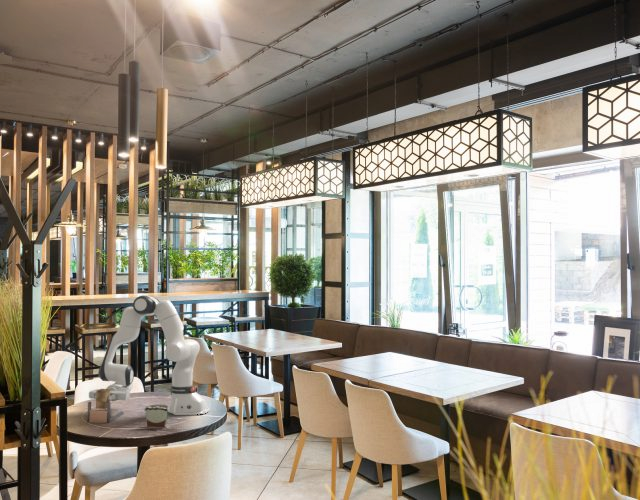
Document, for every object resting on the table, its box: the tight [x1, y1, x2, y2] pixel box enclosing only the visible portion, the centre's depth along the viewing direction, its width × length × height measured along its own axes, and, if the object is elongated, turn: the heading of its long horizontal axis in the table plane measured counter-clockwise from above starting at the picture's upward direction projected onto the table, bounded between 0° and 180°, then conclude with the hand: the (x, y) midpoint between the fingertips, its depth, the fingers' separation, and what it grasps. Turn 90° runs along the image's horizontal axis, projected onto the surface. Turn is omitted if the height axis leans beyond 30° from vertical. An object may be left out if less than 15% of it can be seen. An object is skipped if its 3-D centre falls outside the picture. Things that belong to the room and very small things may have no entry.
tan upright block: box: [95, 388, 111, 410], centre depth 287 cm, size 5×5×9 cm
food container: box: [144, 403, 169, 429], centre depth 277 cm, size 12×6×10 cm, turn 84°
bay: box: [86, 401, 124, 424], centre depth 290 cm, size 12×17×10 cm
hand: (102, 398), depth 286 cm, fingers closed on tan upright block, 5 cm apart
